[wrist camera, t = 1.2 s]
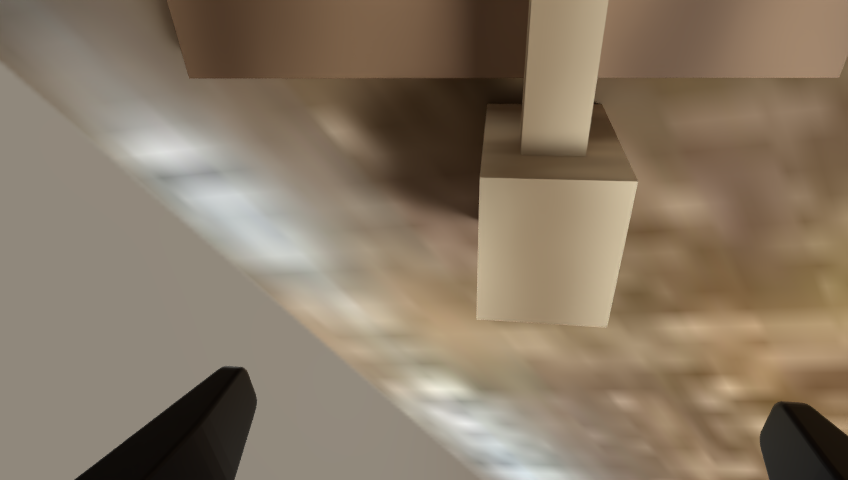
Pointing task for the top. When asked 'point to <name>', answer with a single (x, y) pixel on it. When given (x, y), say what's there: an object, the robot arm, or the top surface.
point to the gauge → (553, 181)
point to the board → (505, 38)
